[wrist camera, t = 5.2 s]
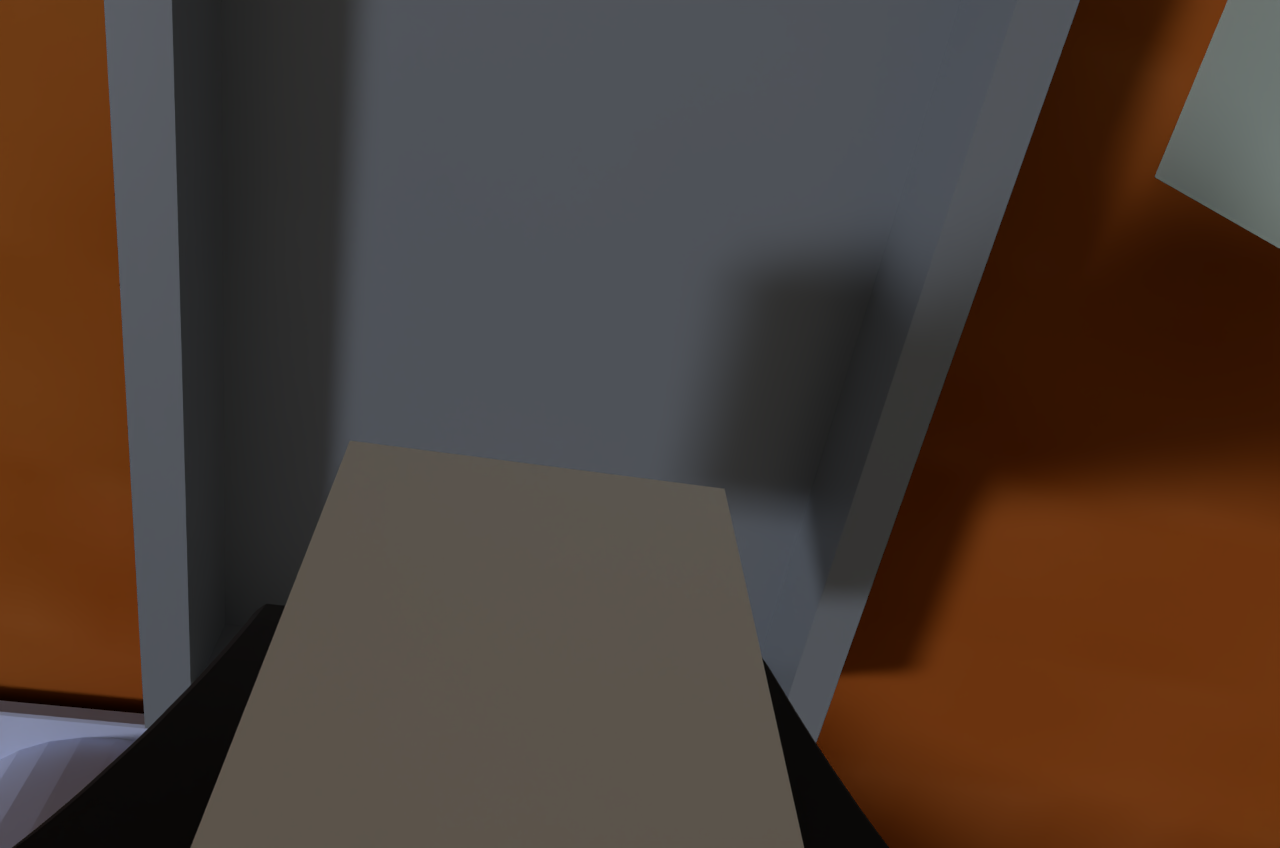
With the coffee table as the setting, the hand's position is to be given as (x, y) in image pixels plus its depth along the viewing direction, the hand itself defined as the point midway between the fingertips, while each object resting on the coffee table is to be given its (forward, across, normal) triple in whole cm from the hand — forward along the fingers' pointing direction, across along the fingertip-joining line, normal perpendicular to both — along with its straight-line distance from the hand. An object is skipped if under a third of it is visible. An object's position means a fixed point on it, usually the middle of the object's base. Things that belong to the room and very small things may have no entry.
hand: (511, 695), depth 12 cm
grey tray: (+8, 0, -2) cm, 8 cm away
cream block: (+1, 0, 0) cm, 1 cm away
